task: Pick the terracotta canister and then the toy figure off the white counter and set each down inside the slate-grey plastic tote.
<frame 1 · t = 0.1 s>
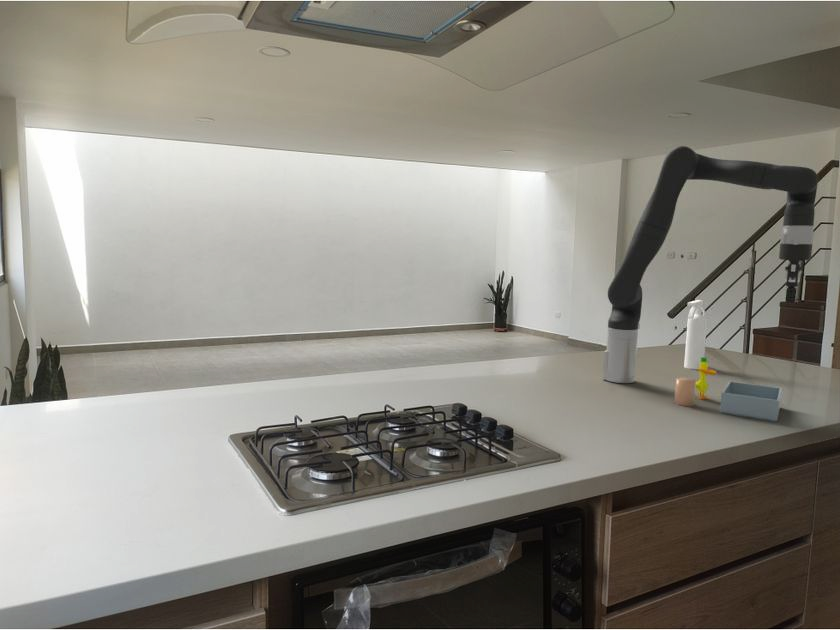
hand: (790, 301, 163), 29 cm above the worktop, fingers open, 8 cm apart
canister: (683, 403, 164), on the worktop
toy figure: (703, 399, 170), on the worktop
tote: (750, 410, 158), on the worktop
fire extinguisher: (694, 368, 215), on the worktop
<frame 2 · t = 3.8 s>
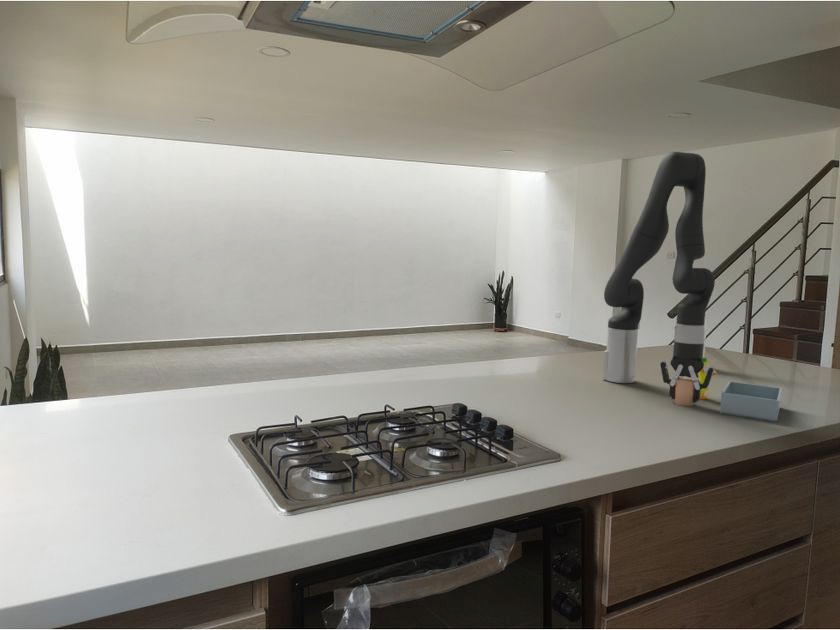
hand: (684, 400, 163), 1 cm above the worktop, fingers closed on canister, 5 cm apart
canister: (683, 403, 164), on the worktop, touching gripper
everything else where it was.
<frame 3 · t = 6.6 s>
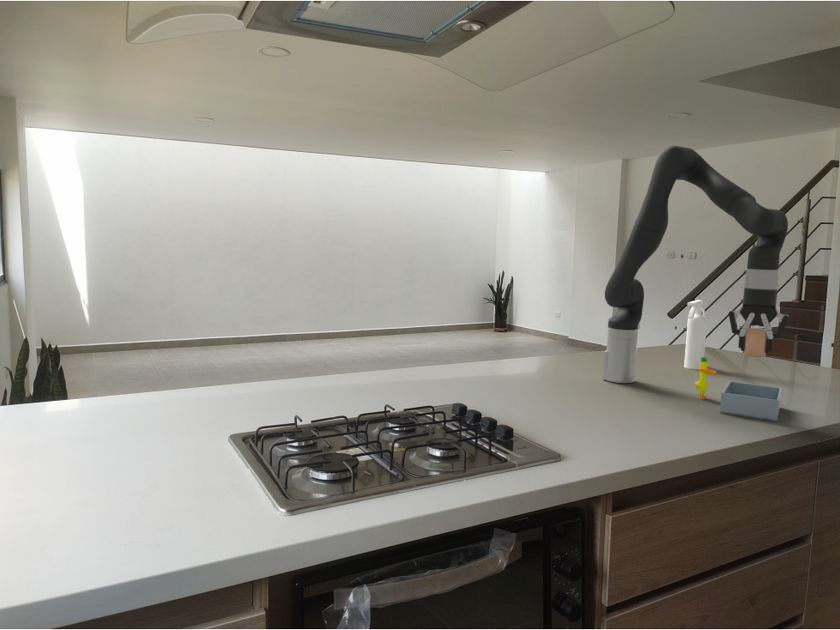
hand: (754, 351, 153), 17 cm above the worktop, fingers closed on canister, 5 cm apart
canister: (754, 355, 153), point 16 cm above the worktop, touching gripper
everything else where it was.
when the fingers open (3 cm above the worktop, at t = 9.5 s): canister stays where it is, resting on tote.
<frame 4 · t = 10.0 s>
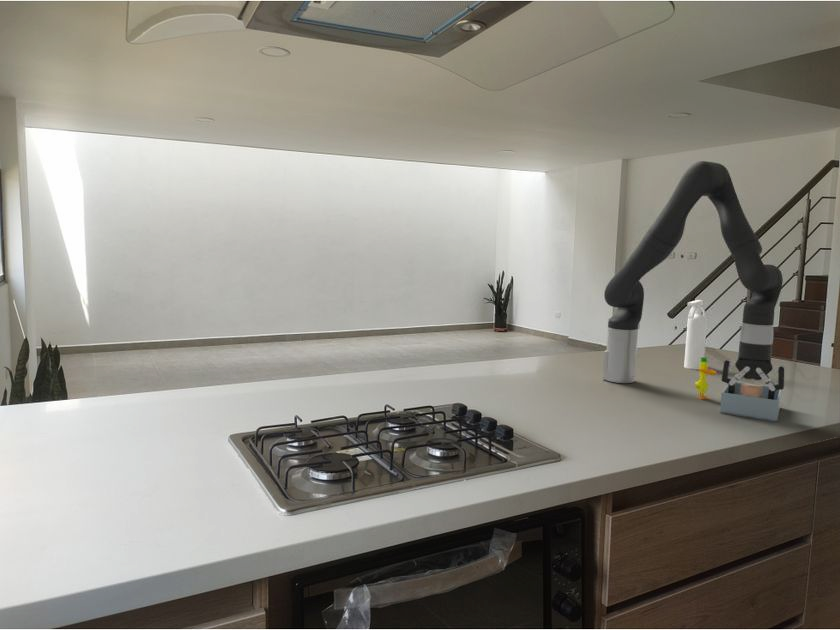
hand: (750, 401, 155), 3 cm above the worktop, fingers open, 8 cm apart
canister: (749, 411, 155), point 1 cm above the worktop, touching tote
everything else where it was.
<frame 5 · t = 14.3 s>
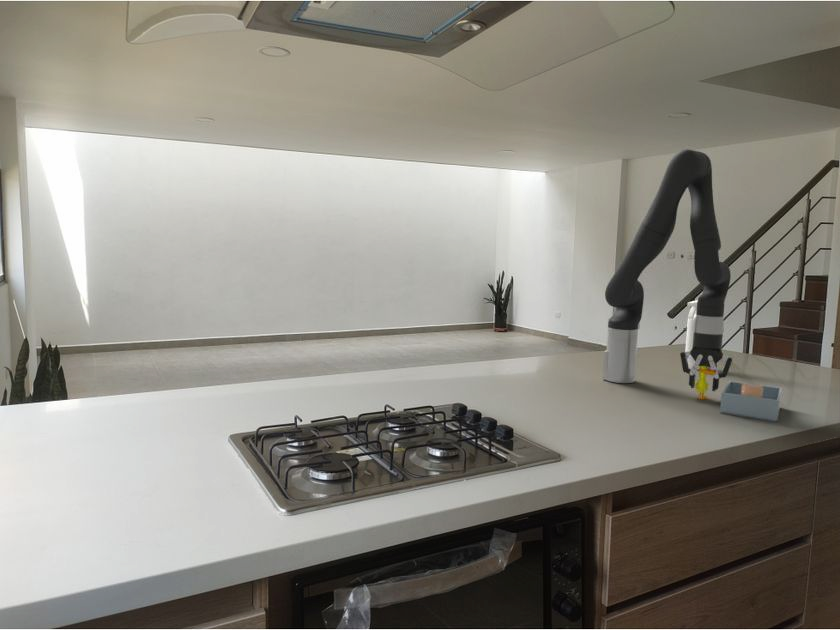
hand: (703, 388, 170), 3 cm above the worktop, fingers closed on toy figure, 5 cm apart
toy figure: (702, 399, 170), on the worktop, touching gripper
everything else where it was.
when the fingers open (5 cm above the worktop, at t = 20.1 s): toy figure drops 1 cm, resting on tote.
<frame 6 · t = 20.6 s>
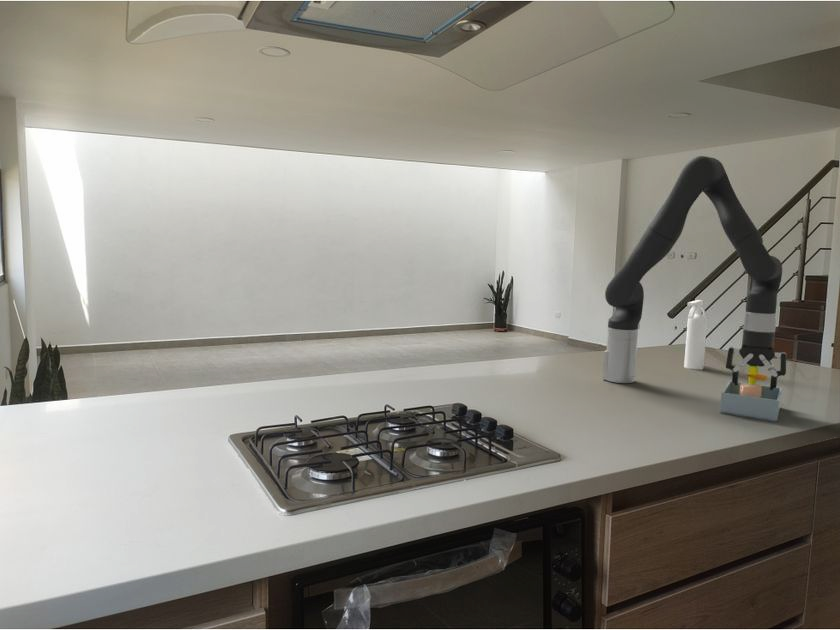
hand: (753, 387, 161), 6 cm above the worktop, fingers open, 8 cm apart
toy figure: (753, 405, 162), resting on tote
everything else where it was.
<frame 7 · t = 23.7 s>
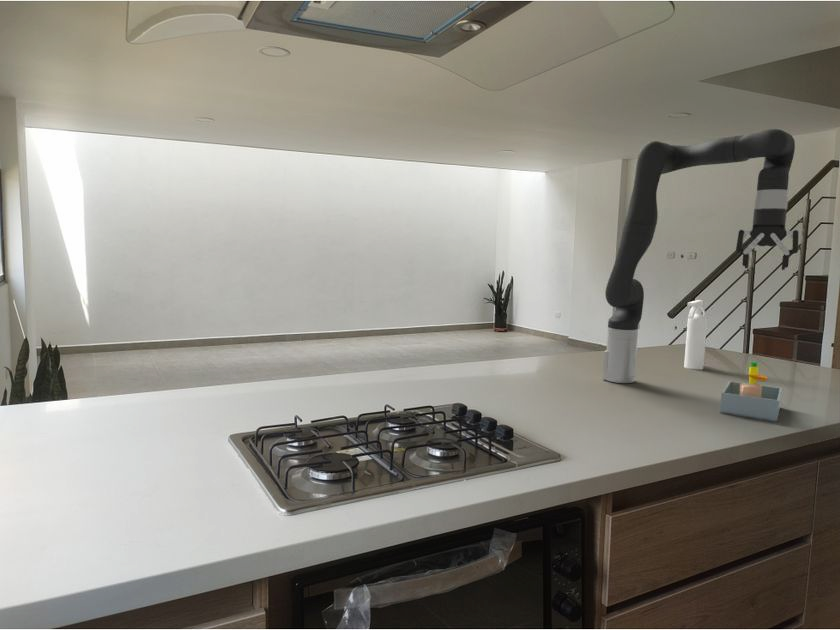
hand: (764, 269, 157), 38 cm above the worktop, fingers open, 8 cm apart
nothing on the worktop moved.
at the end: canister inside the target area on the tote (4.1 cm from its centre), point 0.6 cm above the tote's base; toy figure inside the target area on the tote (4.0 cm from its centre), point 0.3 cm above the tote's base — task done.
